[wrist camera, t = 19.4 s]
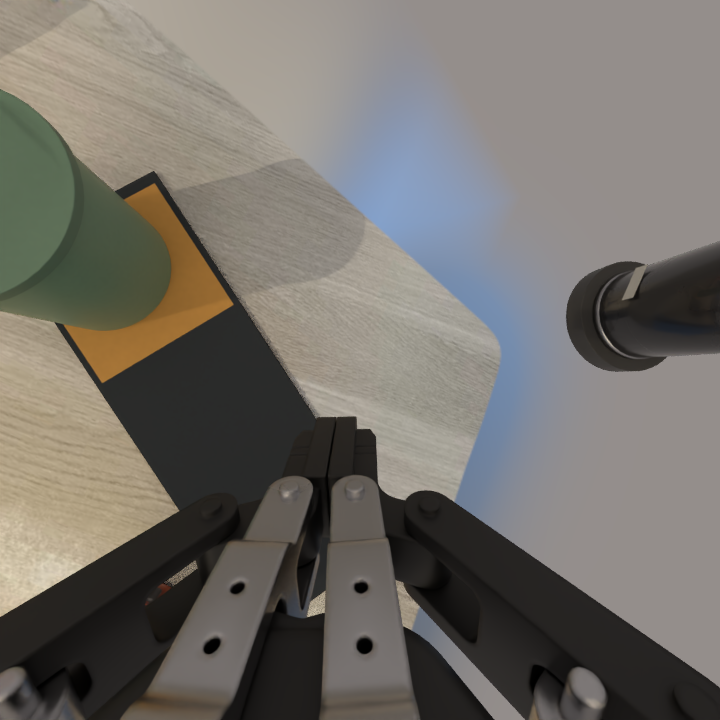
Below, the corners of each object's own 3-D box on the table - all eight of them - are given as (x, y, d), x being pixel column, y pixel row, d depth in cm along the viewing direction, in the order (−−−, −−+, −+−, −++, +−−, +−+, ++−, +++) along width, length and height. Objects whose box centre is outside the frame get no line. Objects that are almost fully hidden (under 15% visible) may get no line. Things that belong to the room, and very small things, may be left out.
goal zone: (235, 305, 32) (234, 304, 32) (104, 383, 30) (102, 383, 30) (156, 184, 32) (154, 182, 31) (20, 257, 30) (17, 256, 30)
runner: (393, 538, 33) (394, 539, 32) (263, 633, 31) (262, 636, 31) (155, 172, 32) (153, 170, 32) (8, 250, 30) (5, 249, 30)
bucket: (175, 203, 32) (74, 83, 19) (177, 333, 31) (75, 302, 18) (31, 201, 30) (-184, 70, 17) (31, 337, 30) (-191, 306, 17)
